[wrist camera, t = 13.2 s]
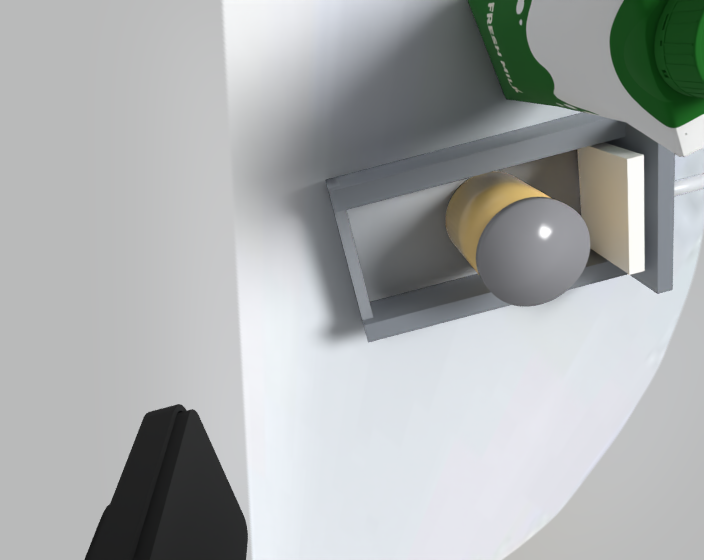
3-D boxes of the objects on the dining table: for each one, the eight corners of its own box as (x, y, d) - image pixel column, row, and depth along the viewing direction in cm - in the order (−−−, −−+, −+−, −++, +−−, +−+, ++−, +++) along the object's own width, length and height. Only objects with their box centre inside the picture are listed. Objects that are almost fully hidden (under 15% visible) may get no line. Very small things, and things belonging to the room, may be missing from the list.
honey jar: (436, 184, 37) (471, 218, 30) (528, 158, 37) (586, 186, 30) (452, 268, 40) (488, 318, 33) (538, 244, 40) (593, 289, 33)
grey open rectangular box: (325, 179, 36) (332, 206, 30) (612, 104, 36) (675, 116, 30) (362, 321, 41) (374, 368, 35) (616, 254, 41) (672, 289, 35)
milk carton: (445, -13, 32) (645, -85, 14) (583, -95, 31) (990, -287, 13) (498, 119, 36) (713, 197, 18) (624, 48, 35) (989, 54, 17)
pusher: (576, 142, 37) (627, 159, 31) (691, 111, 37) (761, 123, 31) (582, 243, 40) (629, 274, 34) (688, 215, 40) (751, 242, 34)
